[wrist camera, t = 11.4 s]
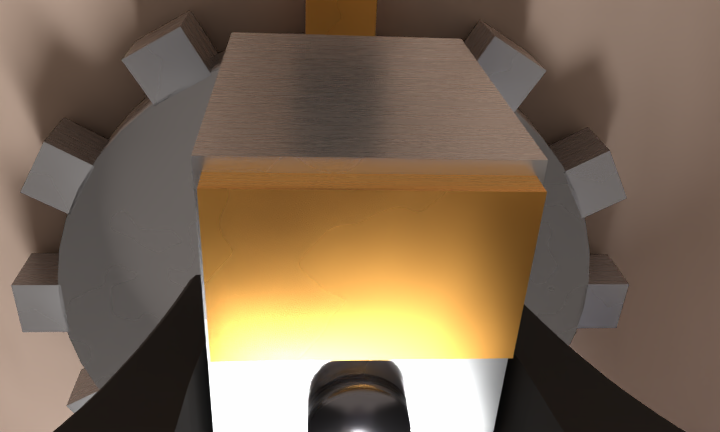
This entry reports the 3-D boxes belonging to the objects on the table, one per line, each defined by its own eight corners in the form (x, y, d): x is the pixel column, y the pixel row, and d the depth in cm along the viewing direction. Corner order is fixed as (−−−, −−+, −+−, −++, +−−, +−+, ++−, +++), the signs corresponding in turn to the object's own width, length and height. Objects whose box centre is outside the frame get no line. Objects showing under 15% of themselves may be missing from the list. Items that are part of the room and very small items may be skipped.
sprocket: (728, 188, 19) (857, 298, 15) (401, 524, 25) (423, 675, 21) (199, -172, 14) (150, -170, 10) (-50, 359, 20) (-151, 512, 16)
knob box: (412, 439, 17) (453, 671, 12) (249, 442, 17) (229, 683, 12) (460, 38, 12) (559, 175, 8) (231, 32, 12) (185, 171, 7)
